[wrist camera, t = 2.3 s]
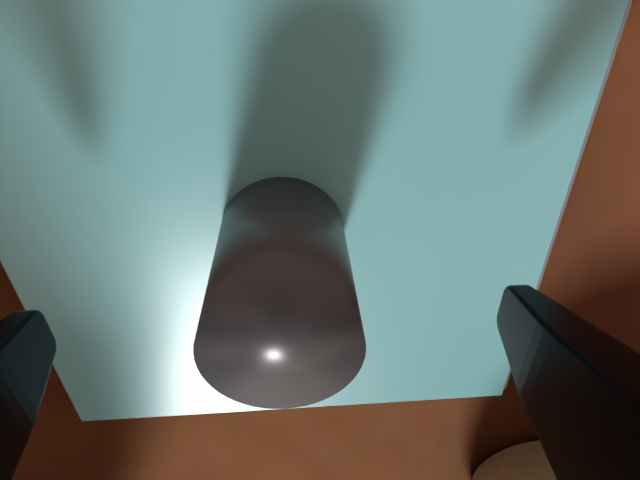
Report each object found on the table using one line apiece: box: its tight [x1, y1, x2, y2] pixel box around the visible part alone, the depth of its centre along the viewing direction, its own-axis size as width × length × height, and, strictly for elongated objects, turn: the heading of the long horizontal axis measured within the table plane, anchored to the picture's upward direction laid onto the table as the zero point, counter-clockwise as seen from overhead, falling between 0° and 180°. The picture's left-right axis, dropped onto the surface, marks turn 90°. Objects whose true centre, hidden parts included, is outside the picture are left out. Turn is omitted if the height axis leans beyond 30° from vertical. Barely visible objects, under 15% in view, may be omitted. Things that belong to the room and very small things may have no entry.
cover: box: [0, 0, 629, 421], centre depth 10 cm, size 14×14×5 cm
